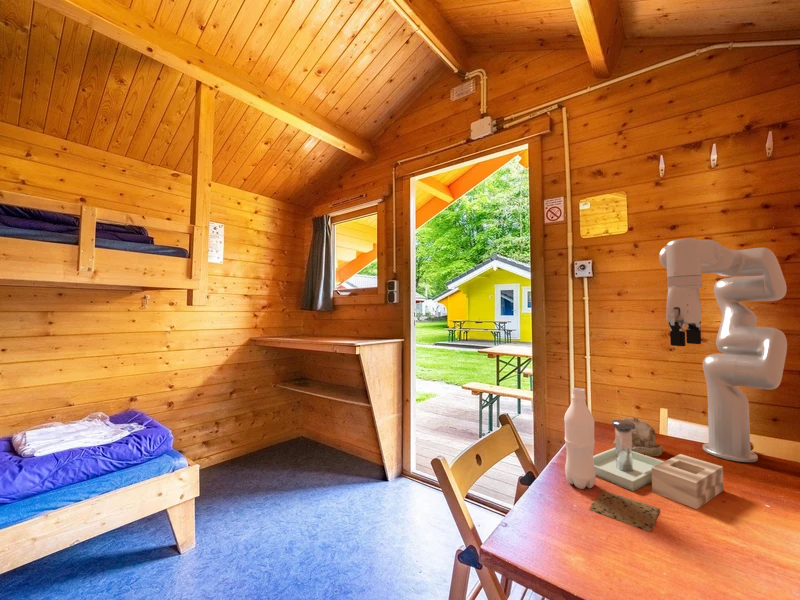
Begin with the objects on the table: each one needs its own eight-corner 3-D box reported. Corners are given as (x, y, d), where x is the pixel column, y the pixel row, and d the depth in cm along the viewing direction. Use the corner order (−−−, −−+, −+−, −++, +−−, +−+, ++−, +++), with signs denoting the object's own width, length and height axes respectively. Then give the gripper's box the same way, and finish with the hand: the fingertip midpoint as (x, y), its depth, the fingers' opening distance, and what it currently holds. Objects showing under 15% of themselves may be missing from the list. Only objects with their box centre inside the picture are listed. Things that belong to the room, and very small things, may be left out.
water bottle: (600, 492, 87) (598, 392, 87) (569, 489, 88) (567, 391, 89) (590, 478, 94) (588, 386, 94) (562, 476, 95) (560, 385, 96)
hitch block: (680, 475, 95) (680, 453, 95) (723, 490, 87) (722, 466, 88) (652, 491, 87) (651, 467, 87) (696, 509, 79) (695, 482, 80)
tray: (617, 454, 109) (617, 446, 110) (670, 472, 97) (669, 463, 97) (580, 469, 99) (580, 460, 99) (633, 491, 87) (632, 481, 87)
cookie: (661, 510, 80) (660, 506, 80) (651, 535, 71) (651, 530, 71) (603, 491, 88) (602, 487, 88) (588, 511, 80) (588, 507, 80)
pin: (619, 463, 102) (618, 418, 103) (640, 470, 97) (639, 423, 98) (608, 467, 99) (607, 421, 100) (629, 475, 94) (628, 427, 95)
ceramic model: (606, 445, 117) (605, 415, 117) (620, 437, 124) (619, 409, 124) (655, 459, 106) (655, 426, 106) (667, 450, 113) (667, 419, 113)
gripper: (682, 285, 104) (683, 341, 104) (653, 283, 95) (655, 345, 95) (714, 283, 97) (716, 344, 97) (686, 281, 89) (688, 348, 88)
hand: (686, 344), depth 96 cm, fingers open, 9 cm apart
